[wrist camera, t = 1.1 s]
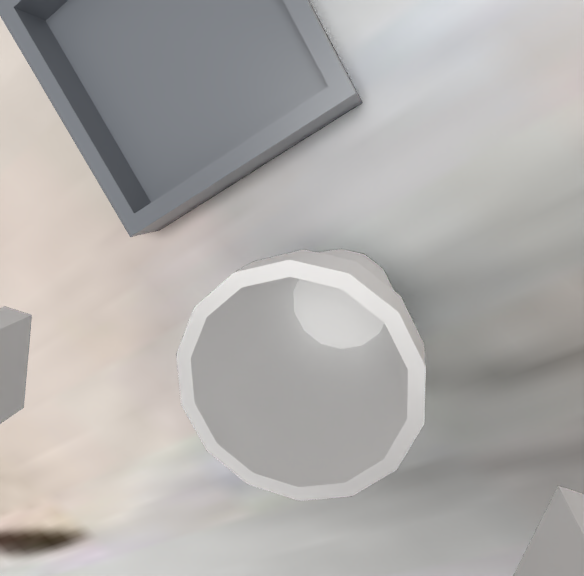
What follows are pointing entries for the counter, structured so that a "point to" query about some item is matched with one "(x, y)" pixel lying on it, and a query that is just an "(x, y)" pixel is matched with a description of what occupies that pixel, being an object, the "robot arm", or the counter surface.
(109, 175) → the bin
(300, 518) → the counter surface
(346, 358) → the foam cup
